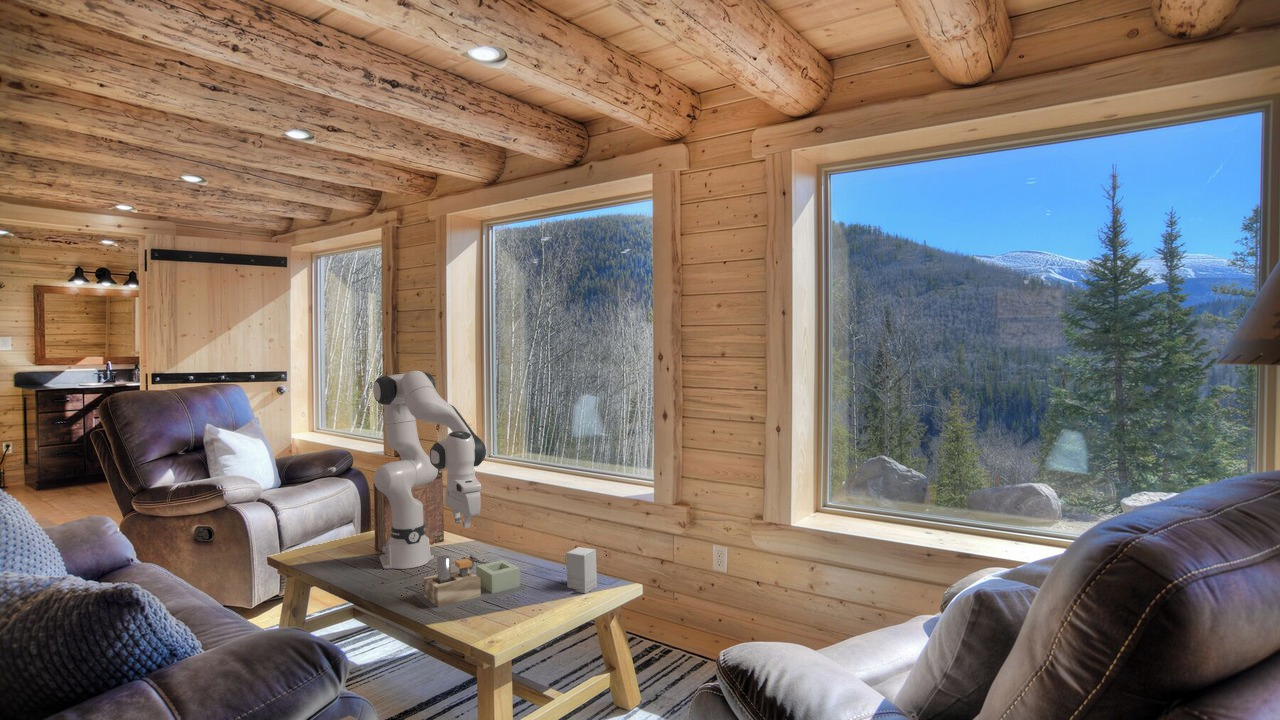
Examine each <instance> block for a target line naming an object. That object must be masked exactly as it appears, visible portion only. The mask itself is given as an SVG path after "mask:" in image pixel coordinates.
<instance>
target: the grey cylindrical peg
mask: <svg viewBox="0 0 1280 720" xmlns="http://www.w3.org/2000/svg"><path fill="white" fill-rule="evenodd" d="M436 563H437V564H436V565H437V567H436V568H437V575H438V584H442V583H446V582H450V581H451V571H452V569H451V556H450V555H441V556H438V557H437V558H436Z"/></svg>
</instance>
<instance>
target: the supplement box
mask: <svg viewBox="0 0 1280 720" xmlns="http://www.w3.org/2000/svg"><path fill="white" fill-rule="evenodd" d="M565 554H566V582H567V583H566V584H567V585H566V586H567V588H568V589H573V592H575V591H576V593H580V592H581V593H582V594H587V593H588V592H590V591H592V590H594V589H596V588H597V587H598V573H597V569H598V568H597V549H595V548H589V547H588V548H587V547H580V546H578V547H575V548H573V549H571V550H570V551H567V552H565Z"/></svg>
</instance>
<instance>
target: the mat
mask: <svg viewBox="0 0 1280 720" xmlns="http://www.w3.org/2000/svg"><path fill="white" fill-rule="evenodd" d="M527 589H529V588H528V587H526V586H525V585H523V584H521V583H520V586H519V587H515V588H511V589H507V590H504V591H500V592H496V593H491V592H489V591H488V590H486V589H485V588H483V587H481V596H480V597H477V598H473V599H469V600H465V601H461V602H457V603H453V604H450V605H446V606H442V607H437V606H436V605H434V604H433V603H432V602H430V601H429V600H428V599H427V598H425V597H424V592H419V593H417V594H414V596H415V597H416V599H418V600H419V601H421V602H422V603H423V604H424V605H426V606H427V607H429V608H430V609H431V610H432V611H433V612H434V613H440V612H444V611H447V610H453V609H455V608H459V607H463V606H466V605H471V604H475V603H478V602H481V601H487V600H489V599H492V598H493V599H494V598H497V597H502V596H504V595H505V596H506V595H508V594H512V593H516V592H520V591H524V590H527Z"/></svg>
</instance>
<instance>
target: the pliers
mask: <svg viewBox="0 0 1280 720" xmlns="http://www.w3.org/2000/svg"><path fill="white" fill-rule="evenodd" d="M469 557H470V558H468V557H466V556H463V559H466V558H467V559H469V560H470V561H472V566H470V568H469V571H470V570H473V568H474V566H475V563H477V562H478V563H477V564H482V563H485V564H486V563H489V561H488V562H487V561H481V560H479V559H478V558H477V557H475V556H473V555H469ZM474 562H475V563H474Z"/></svg>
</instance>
